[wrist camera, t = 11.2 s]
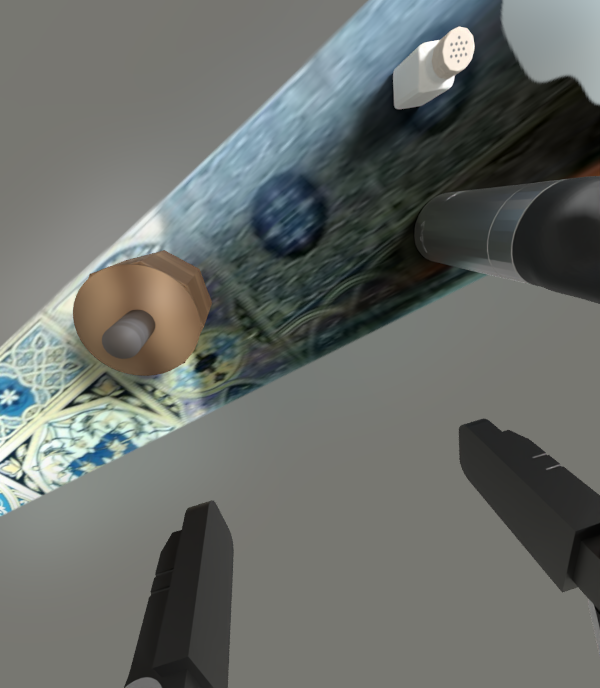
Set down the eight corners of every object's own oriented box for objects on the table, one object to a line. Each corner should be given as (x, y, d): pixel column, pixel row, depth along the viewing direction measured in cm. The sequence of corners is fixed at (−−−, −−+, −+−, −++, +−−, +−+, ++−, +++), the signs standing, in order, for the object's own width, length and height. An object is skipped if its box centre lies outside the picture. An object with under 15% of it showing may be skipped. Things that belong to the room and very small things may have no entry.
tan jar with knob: (190, 241, 39) (160, 256, 24) (221, 325, 43) (211, 380, 29) (98, 265, 38) (9, 296, 23) (140, 348, 43) (87, 416, 28)
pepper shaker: (390, 70, 35) (438, 23, 27) (422, 65, 36) (480, 17, 27) (392, 111, 37) (438, 80, 28) (423, 106, 37) (477, 74, 29)
